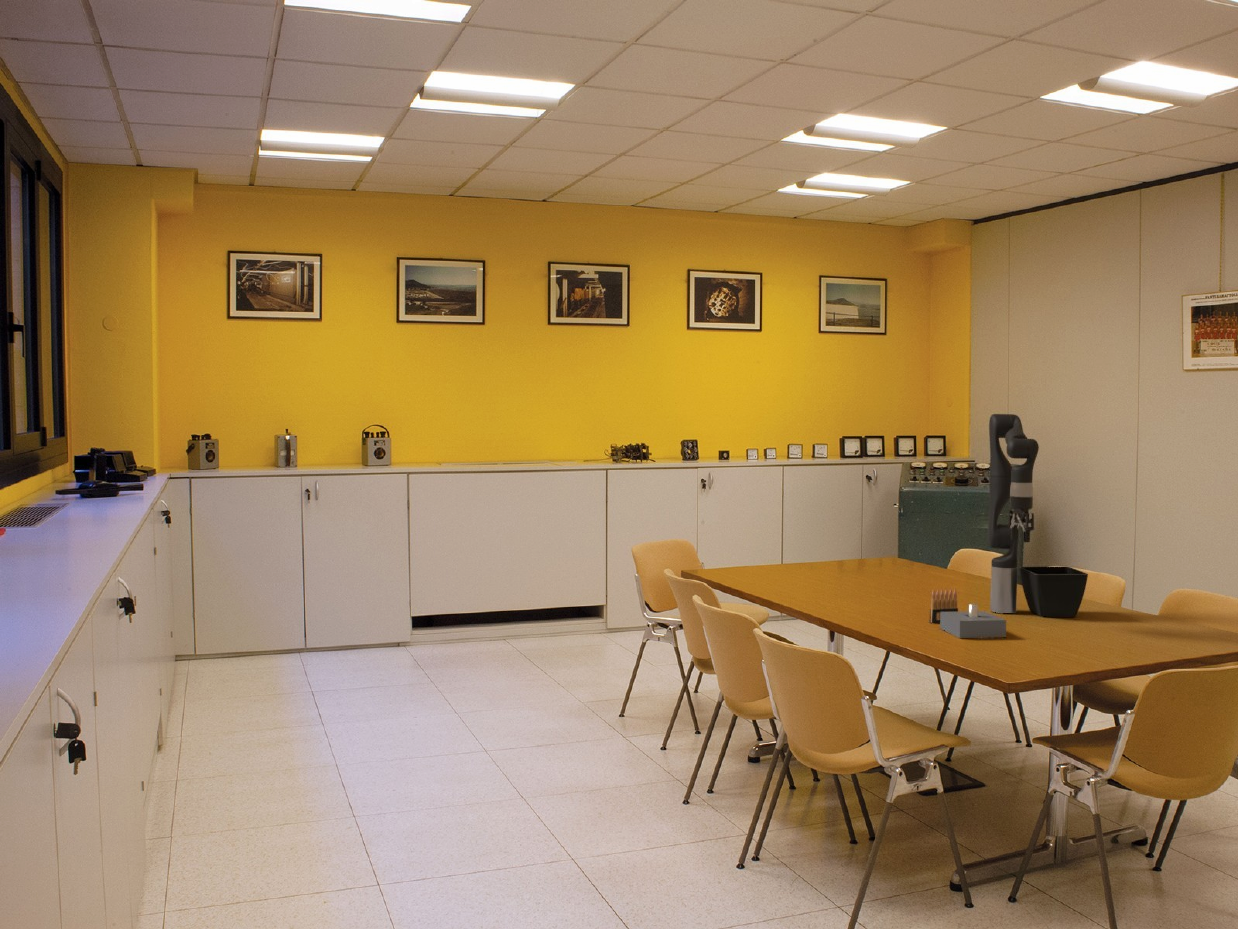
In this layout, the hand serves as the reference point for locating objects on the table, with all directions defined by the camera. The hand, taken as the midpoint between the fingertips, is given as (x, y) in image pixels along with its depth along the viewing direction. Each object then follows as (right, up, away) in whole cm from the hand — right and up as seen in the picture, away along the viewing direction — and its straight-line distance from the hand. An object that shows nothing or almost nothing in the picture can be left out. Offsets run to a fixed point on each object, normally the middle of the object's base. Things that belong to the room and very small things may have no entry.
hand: (1020, 540), depth 364 cm
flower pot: (+20, -29, +21) cm, 42 cm away
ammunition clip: (-26, -30, +5) cm, 40 cm away
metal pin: (-22, -31, -14) cm, 40 cm away
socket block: (-22, -31, -14) cm, 40 cm away
